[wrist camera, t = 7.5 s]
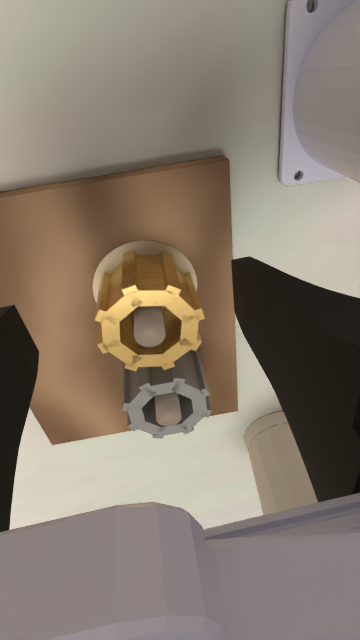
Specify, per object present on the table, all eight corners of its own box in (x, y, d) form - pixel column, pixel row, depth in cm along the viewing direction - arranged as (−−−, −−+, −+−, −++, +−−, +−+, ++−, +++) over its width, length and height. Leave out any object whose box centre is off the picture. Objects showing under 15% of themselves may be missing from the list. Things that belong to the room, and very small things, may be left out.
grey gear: (196, 331, 23) (207, 372, 20) (203, 386, 27) (213, 429, 24) (116, 345, 23) (114, 388, 20) (132, 399, 27) (133, 443, 23)
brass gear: (196, 250, 20) (209, 284, 17) (188, 327, 23) (198, 368, 20) (97, 249, 19) (91, 284, 16) (103, 329, 22) (99, 372, 19)
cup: (323, 436, 35) (396, 572, 26) (253, 464, 37) (297, 603, 27) (302, 393, 31) (382, 539, 21) (223, 427, 32) (264, 578, 23)
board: (223, 155, 18) (256, 183, 14) (234, 400, 30) (253, 459, 25) (-76, 204, 18) (-149, 250, 13) (54, 432, 30) (41, 499, 25)
